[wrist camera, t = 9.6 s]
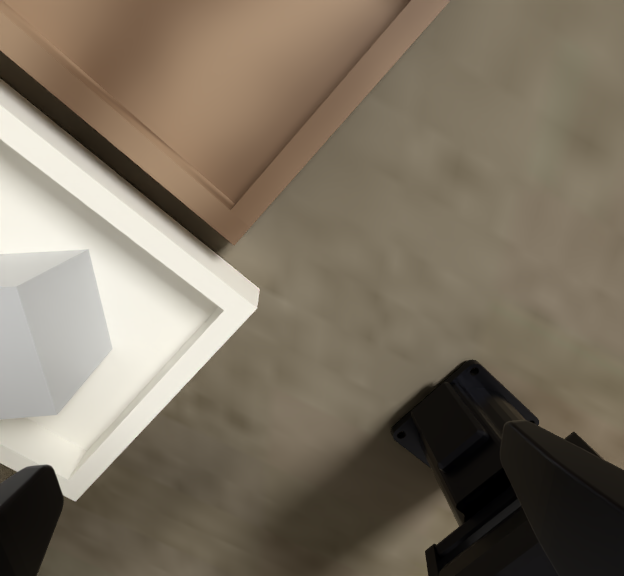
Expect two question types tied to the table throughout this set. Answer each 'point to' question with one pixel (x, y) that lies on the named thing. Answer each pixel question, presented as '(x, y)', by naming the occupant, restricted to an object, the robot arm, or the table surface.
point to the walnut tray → (213, 83)
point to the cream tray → (109, 293)
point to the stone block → (48, 330)
